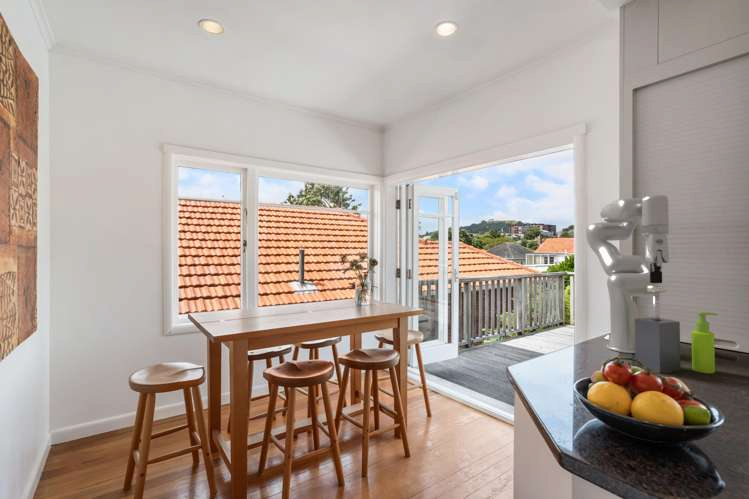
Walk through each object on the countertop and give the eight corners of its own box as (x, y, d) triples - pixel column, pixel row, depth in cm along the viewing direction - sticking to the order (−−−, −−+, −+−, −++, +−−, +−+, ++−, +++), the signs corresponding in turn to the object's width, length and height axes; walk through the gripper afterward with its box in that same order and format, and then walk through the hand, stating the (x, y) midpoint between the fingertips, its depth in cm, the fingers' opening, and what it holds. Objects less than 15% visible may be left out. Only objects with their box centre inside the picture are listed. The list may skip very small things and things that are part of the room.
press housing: (635, 365, 135) (634, 318, 135) (655, 362, 137) (654, 317, 137) (659, 373, 126) (659, 323, 126) (680, 370, 128) (679, 321, 128)
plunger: (641, 338, 134) (640, 285, 134) (655, 337, 135) (654, 284, 135) (658, 343, 128) (657, 287, 128) (673, 341, 129) (672, 286, 129)
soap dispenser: (722, 374, 124) (721, 313, 124) (698, 373, 126) (697, 313, 125) (710, 368, 130) (709, 310, 130) (688, 367, 131) (687, 310, 131)
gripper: (675, 229, 123) (675, 285, 123) (662, 231, 137) (663, 281, 137) (647, 230, 126) (648, 284, 126) (637, 231, 140) (638, 281, 140)
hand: (656, 282), depth 131 cm, fingers closed
